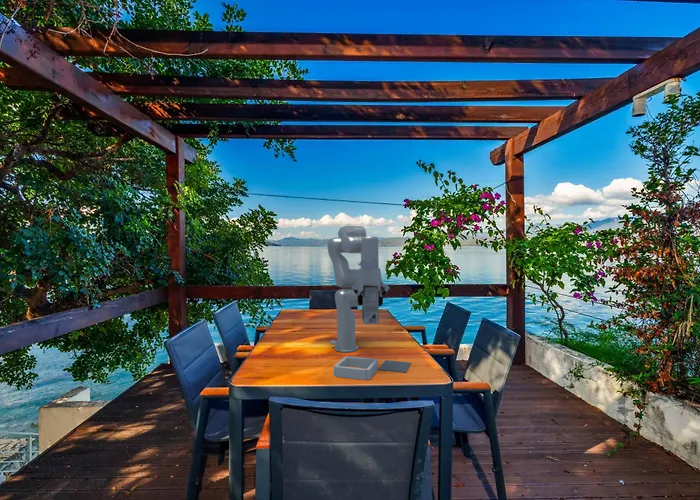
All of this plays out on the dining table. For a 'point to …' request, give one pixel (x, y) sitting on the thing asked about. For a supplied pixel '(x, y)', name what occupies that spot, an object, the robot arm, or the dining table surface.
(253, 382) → the dining table surface
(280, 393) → the dining table surface
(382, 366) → the mat
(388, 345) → the dining table surface
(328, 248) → the robot arm
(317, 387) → the dining table surface
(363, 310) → the coffee box
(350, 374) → the holder
